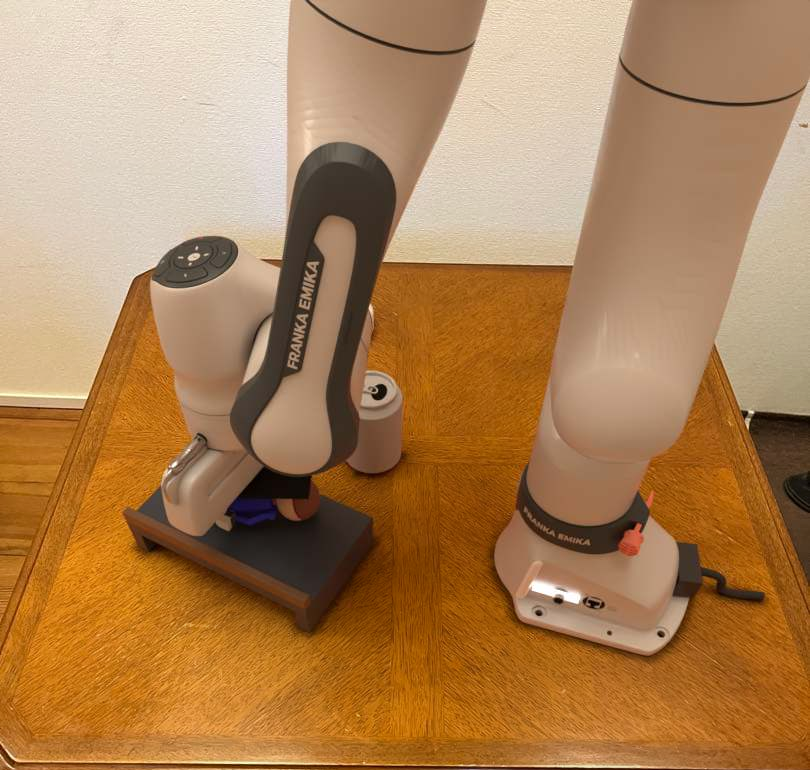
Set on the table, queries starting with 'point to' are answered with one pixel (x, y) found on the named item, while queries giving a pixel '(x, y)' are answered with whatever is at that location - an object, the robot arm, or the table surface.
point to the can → (378, 425)
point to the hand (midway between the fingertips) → (251, 496)
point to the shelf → (270, 552)
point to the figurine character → (276, 498)
